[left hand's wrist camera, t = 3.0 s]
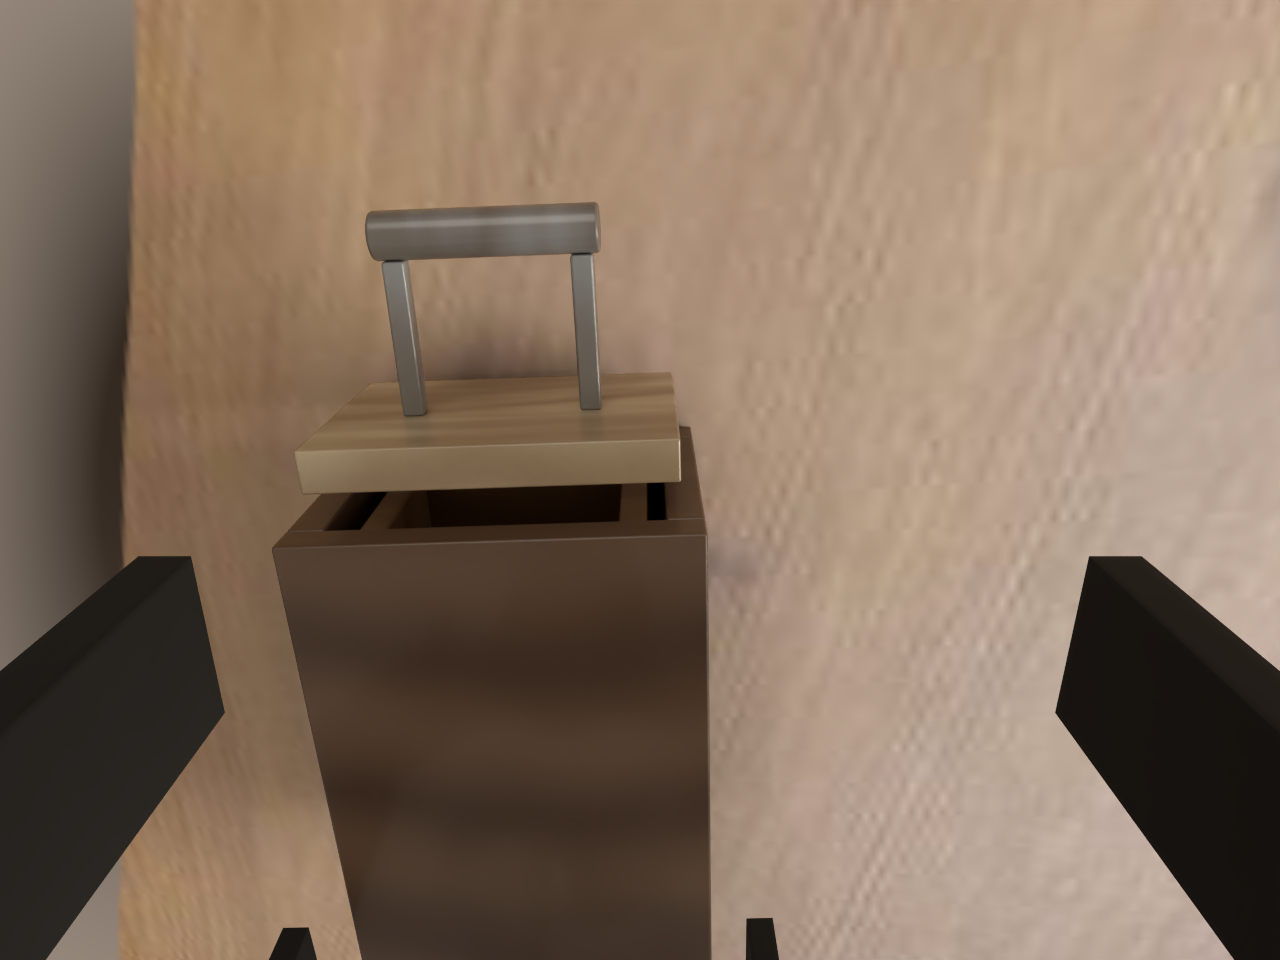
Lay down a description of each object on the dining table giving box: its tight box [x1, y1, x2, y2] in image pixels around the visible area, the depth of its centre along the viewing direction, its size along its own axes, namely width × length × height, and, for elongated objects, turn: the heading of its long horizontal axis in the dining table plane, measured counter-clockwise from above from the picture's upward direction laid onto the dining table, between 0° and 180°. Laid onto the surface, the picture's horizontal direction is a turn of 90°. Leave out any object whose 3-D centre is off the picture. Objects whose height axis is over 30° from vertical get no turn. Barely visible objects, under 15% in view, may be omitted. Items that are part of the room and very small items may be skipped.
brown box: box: [272, 427, 711, 960], centre depth 29 cm, size 17×11×9 cm, turn 2°
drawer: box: [294, 202, 681, 530], centre depth 26 cm, size 21×10×7 cm, turn 2°
